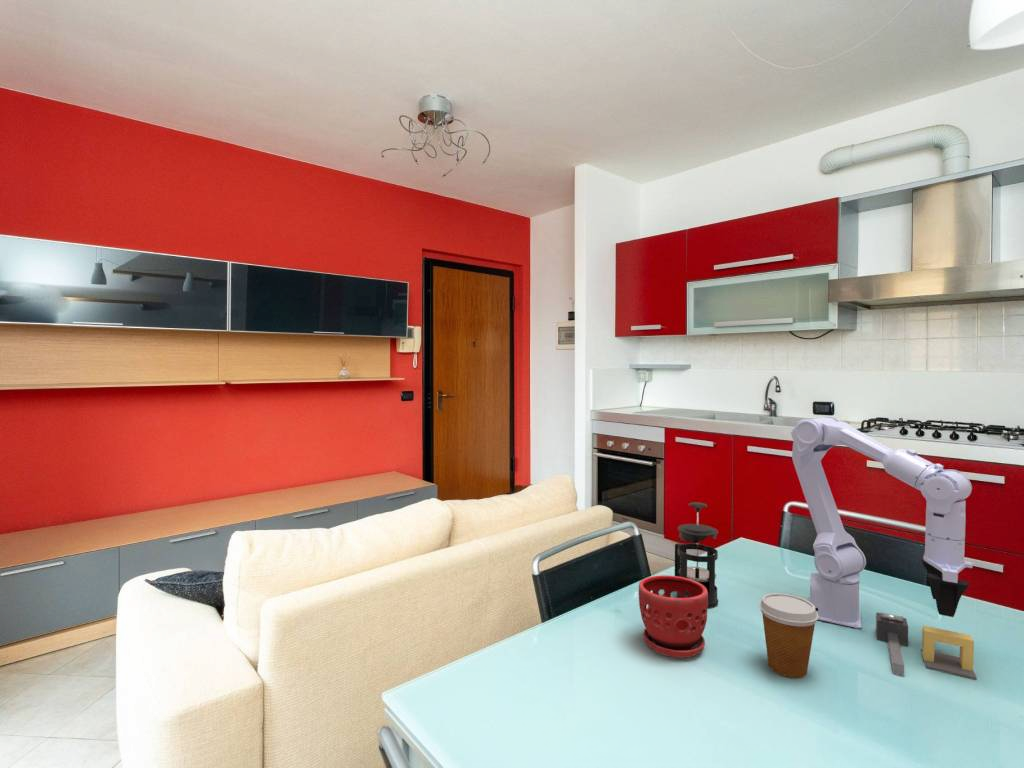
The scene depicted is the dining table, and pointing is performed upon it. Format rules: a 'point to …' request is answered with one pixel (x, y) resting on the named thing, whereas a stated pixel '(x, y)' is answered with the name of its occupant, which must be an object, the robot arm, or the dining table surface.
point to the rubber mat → (949, 665)
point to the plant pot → (673, 615)
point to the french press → (698, 574)
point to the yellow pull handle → (949, 638)
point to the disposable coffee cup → (788, 632)
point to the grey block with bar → (893, 638)
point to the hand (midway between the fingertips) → (942, 607)
